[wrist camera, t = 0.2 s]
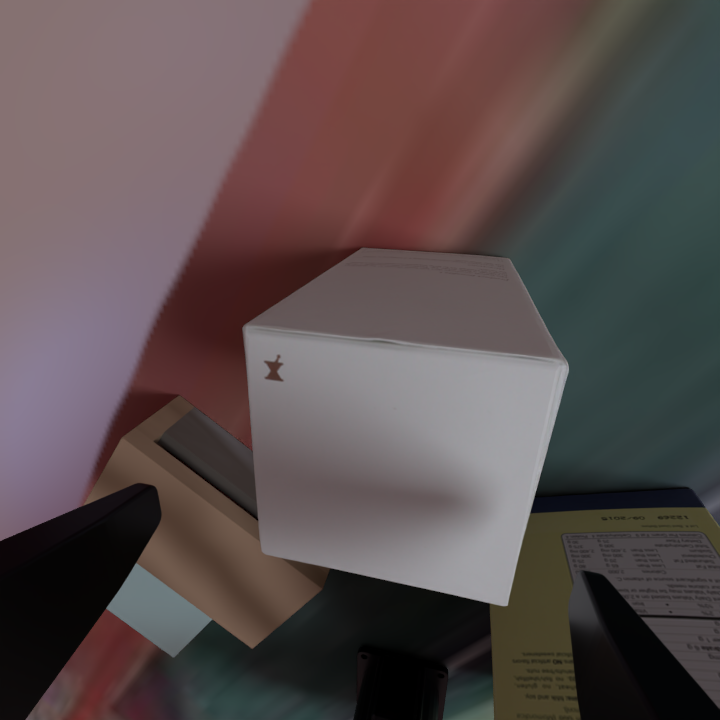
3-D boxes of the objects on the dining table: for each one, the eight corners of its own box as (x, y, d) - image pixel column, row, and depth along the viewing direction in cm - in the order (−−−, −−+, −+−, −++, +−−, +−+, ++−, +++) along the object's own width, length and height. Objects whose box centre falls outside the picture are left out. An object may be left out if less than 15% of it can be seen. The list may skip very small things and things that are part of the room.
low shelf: (283, 582, 32) (252, 648, 27) (133, 469, 31) (76, 518, 27) (346, 524, 28) (322, 589, 24) (179, 395, 28) (122, 437, 23)
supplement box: (354, 380, 24) (249, 557, 13) (360, 243, 21) (231, 316, 10) (491, 400, 23) (509, 619, 12) (517, 256, 20) (577, 357, 9)
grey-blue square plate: (189, 632, 38) (173, 657, 36) (104, 570, 37) (83, 592, 35) (243, 577, 33) (228, 603, 31) (148, 506, 33) (127, 526, 31)
